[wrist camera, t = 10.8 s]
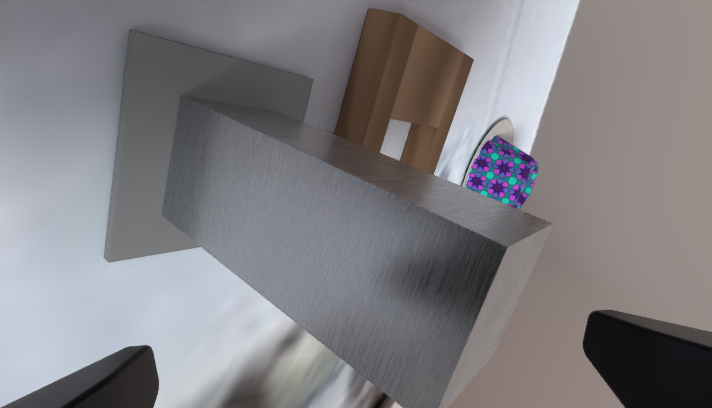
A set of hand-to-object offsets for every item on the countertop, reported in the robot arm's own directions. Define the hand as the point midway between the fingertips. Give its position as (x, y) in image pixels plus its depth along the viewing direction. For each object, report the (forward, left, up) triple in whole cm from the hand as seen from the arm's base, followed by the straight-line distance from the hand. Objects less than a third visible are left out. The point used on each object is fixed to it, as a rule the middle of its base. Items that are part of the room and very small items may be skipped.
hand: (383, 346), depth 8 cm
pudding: (+24, +29, -12) cm, 39 cm away
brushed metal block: (+2, +3, -11) cm, 11 cm away
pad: (+2, +3, -11) cm, 12 cm away
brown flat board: (+9, +12, -11) cm, 19 cm away
